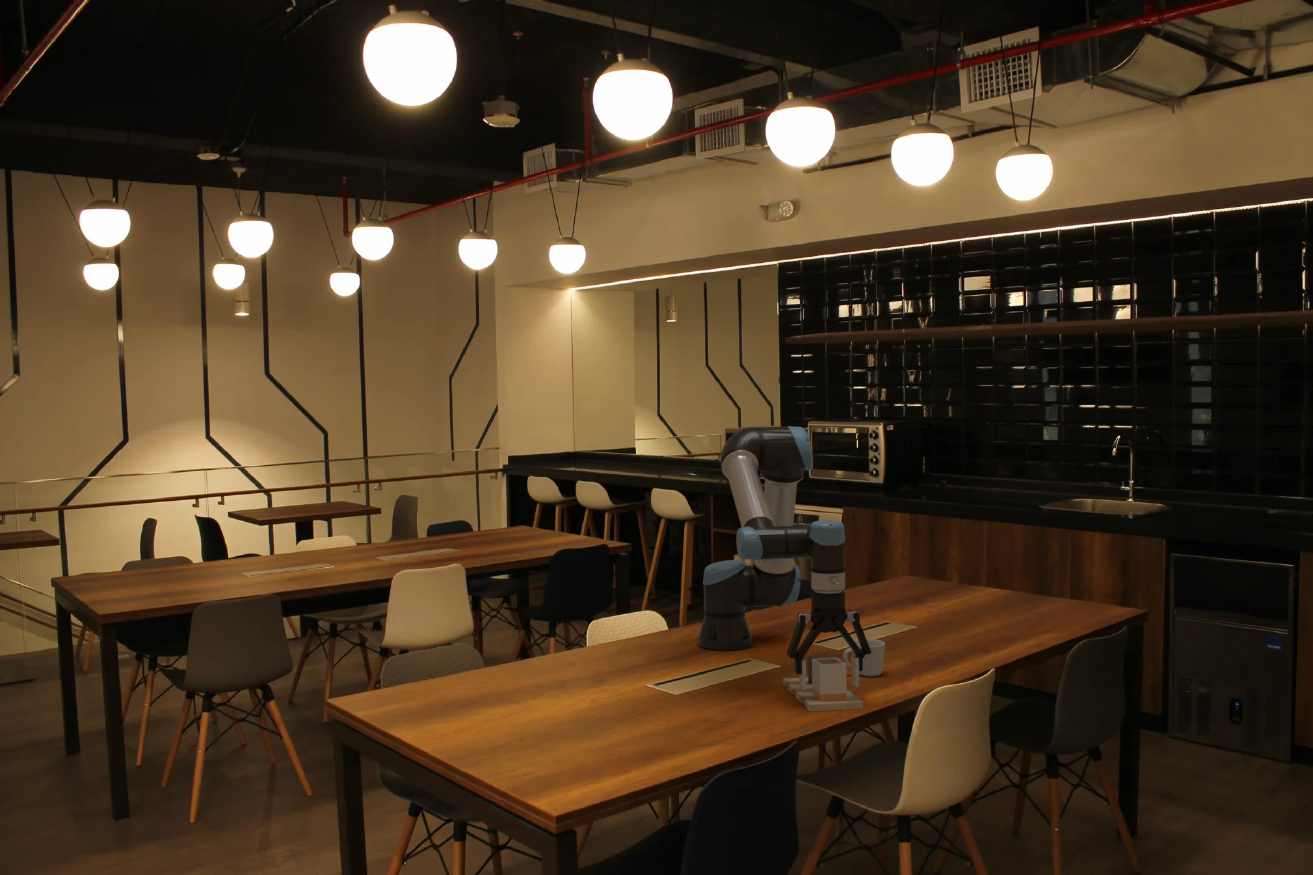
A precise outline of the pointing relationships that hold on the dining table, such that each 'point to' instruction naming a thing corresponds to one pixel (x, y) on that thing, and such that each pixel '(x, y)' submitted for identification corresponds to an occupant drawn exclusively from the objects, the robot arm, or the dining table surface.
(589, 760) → the dining table surface
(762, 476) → the robot arm
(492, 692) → the dining table surface
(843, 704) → the pin board
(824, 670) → the sleeve
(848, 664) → the cup
